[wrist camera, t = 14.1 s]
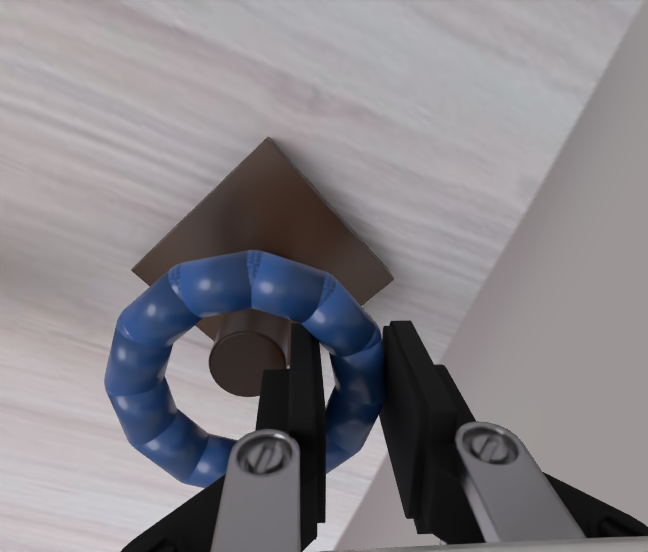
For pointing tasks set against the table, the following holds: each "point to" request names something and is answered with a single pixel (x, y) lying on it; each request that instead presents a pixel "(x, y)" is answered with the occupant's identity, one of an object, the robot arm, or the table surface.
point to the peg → (270, 236)
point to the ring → (225, 297)
